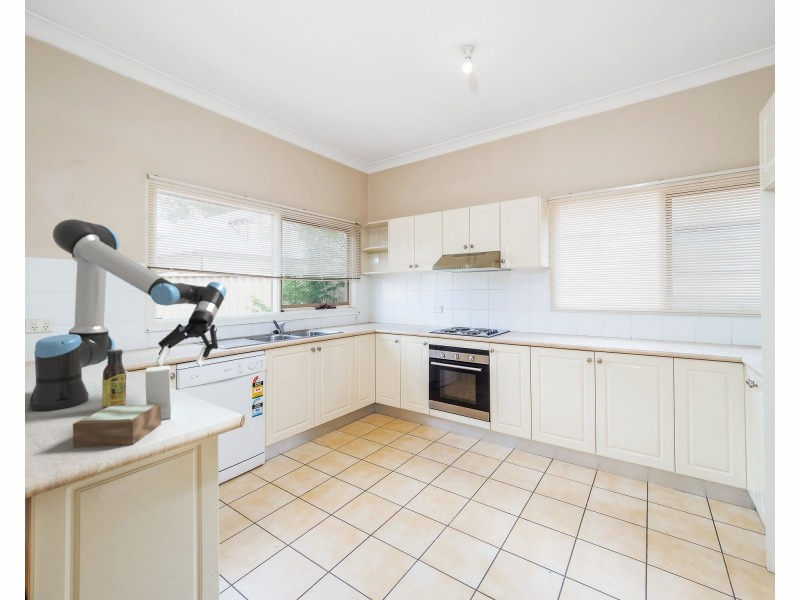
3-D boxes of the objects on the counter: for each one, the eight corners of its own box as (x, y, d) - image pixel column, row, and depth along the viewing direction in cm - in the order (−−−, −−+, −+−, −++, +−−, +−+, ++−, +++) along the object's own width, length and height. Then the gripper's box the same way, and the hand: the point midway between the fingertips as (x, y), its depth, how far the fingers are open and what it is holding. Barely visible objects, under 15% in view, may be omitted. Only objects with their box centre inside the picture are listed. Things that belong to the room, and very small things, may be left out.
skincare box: (171, 419, 113) (170, 369, 112) (145, 423, 109) (144, 371, 109) (171, 411, 120) (170, 364, 119) (146, 414, 116) (146, 366, 116)
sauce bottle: (112, 413, 117) (111, 352, 117) (97, 411, 119) (95, 351, 118) (131, 406, 124) (130, 349, 123) (116, 405, 125) (115, 348, 124)
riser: (109, 426, 106) (109, 404, 106) (160, 424, 108) (160, 403, 108) (73, 447, 92) (72, 422, 92) (133, 444, 94) (132, 420, 94)
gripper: (239, 322, 139) (219, 370, 125) (175, 322, 140) (148, 369, 126) (232, 309, 134) (210, 358, 119) (166, 309, 134) (136, 357, 120)
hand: (178, 364), depth 122 cm, fingers open, 13 cm apart
